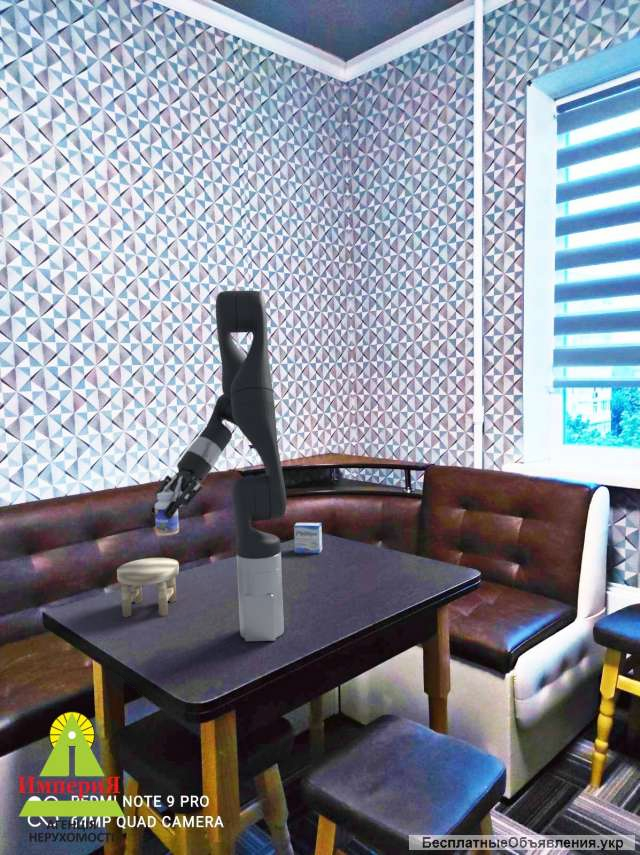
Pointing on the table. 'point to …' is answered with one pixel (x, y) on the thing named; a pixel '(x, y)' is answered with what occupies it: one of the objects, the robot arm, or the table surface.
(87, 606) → the table surface
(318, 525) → the medicine box
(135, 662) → the table surface
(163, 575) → the small wooden stool
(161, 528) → the pill bottle
